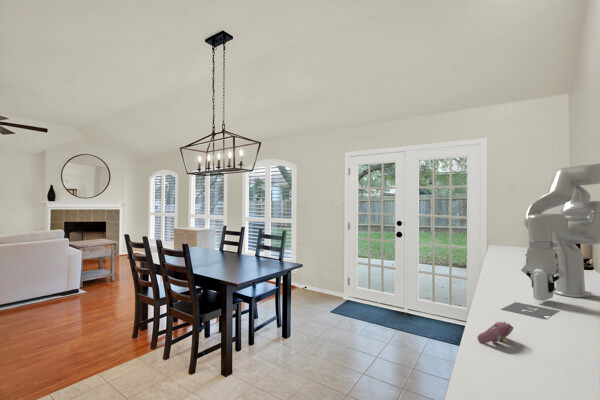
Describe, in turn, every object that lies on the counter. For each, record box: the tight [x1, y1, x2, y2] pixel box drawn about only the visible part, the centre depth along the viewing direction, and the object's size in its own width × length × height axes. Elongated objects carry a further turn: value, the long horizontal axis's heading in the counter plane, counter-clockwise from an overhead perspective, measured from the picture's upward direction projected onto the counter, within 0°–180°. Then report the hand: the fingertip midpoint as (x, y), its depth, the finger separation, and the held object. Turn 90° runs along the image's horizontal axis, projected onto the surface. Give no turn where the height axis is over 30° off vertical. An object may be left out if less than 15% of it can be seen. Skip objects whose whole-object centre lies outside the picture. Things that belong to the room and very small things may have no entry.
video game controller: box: [477, 321, 514, 345], centre depth 88 cm, size 10×5×7 cm, turn 119°
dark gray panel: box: [500, 301, 560, 320], centre depth 114 cm, size 14×14×1 cm
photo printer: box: [532, 269, 554, 302], centre depth 122 cm, size 10×4×12 cm, turn 124°
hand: (543, 290), depth 122 cm, fingers closed on photo printer, 4 cm apart
